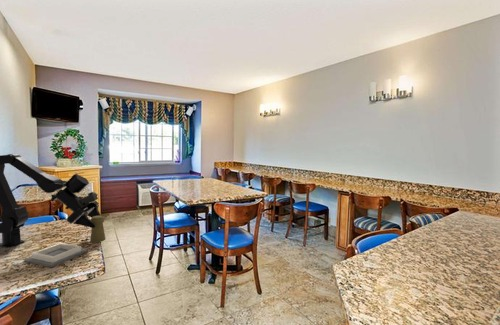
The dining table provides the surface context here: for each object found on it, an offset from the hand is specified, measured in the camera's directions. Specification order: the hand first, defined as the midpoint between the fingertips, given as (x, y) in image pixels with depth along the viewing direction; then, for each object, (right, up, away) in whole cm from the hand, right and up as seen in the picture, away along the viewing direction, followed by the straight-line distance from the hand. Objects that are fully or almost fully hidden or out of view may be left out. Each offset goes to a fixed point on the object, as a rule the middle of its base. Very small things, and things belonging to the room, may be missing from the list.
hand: (99, 223), depth 116 cm
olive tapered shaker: (-1, -8, 0) cm, 8 cm away
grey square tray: (-6, -8, -17) cm, 20 cm away
